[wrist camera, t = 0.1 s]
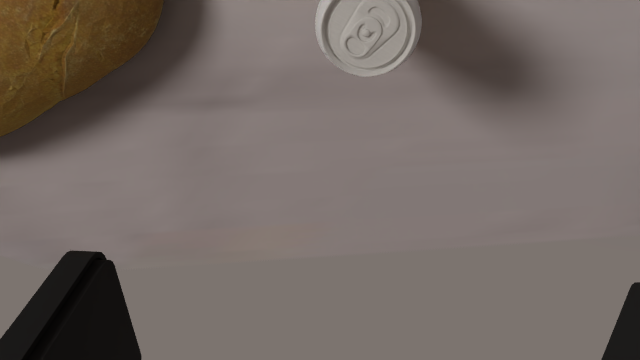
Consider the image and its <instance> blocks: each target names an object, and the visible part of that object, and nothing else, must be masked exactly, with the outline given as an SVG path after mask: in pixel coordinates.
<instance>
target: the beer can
mask: <svg viewBox="0 0 640 360" xmlns="http://www.w3.org/2000/svg"><path fill="white" fill-rule="evenodd" d="M421 28H422V16H421V10H420V6H419V3H418V0H320V2H319V5H318V9H317V12H316V18H315V31H316V37H317V40H318V43H319V45H320V48H321V50H322V51H323V53H324V54H325V56H326V57H327V58H328V59H329V60H330V62H332V63H333V64H334V65H335V66H336V67H338V68H339V69H341V70H343V71H345V72H347V73H350V74H352V75H356V76H361V77H373V76H379V75H382V74H385V73H387V72H390V71H392V70H393V69H395V68H397V67H398V66H400V65H401V64H402V63H403V62H404V61H406V59H407V58H408V57H409V56H410V55H411V53H412V52H413V51H414V49H415V47H416V45H417V43H418V40H419V37H420V34H421Z"/></svg>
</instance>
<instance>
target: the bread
mask: <svg viewBox="0 0 640 360" xmlns="http://www.w3.org/2000/svg"><path fill="white" fill-rule="evenodd" d="M163 2H164V0H0V137H1V136H3V135H6V134H8V133H10V132H12V131H14V130H16V129H18V128H20V127H22V126H24V125H26V124H27V123H29V122H31V121H32V120H34V119H35V118H37V117H38V116H39V115H41V114H42V113H44V112H45V111H47V110H49V109H51V108H52V107H53V106H54V105H56V104H57V103H58V102H59V101H62V100H65V99H67V98H68V97H70V96H73V95H75V94H77V93H79V92H81V91H83V90H85V89H87V88H88V87H90V86H91V85H92V84H94V83H95V82H97V81H98V80H100V79H101V78H103V77H104V76H106V75H107V74H108V73H110V72H111V71H113V70H115V69H117V68H118V67H120V66H121V65H123V64H124V63H126V62H127V61H128V60H130V59H131V58H132V57H133V56H135V55H136V54H137V53H138V52H139V51H140V50H141V49H142V48H143V46H144V45H145V44H146V43H147V42H148V40H149V39H150V37H151V35H152V34H153V32H154V31H155V28H156V26H157V23H158V21H159V18H160V15H161V12H162V7H163Z"/></svg>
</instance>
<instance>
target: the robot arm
mask: <svg viewBox="0 0 640 360" xmlns="http://www.w3.org/2000/svg"><path fill="white" fill-rule="evenodd" d="M0 360H141V353H140V349H139V346H138V343H137V339H136V336H135V332H134V329H133V326H132V322H131V319H130V316H129V313H128V309H127V306H126V302H125V299H124V296H123V292H122V289H121V285H120V282H119V279H118V276H117V272H116V269H115V265H114V263H113V262H112V261H111V260H106V257H105V255H104V254H103V253H102V252H90V251H69V252H67V253H66V254H65V255H64V256H63V257H62V258H61V260H60V261H59V262H58V264H57V265H56V266H55V268H54V269H53V270H52V272H51V273H50V275H49V276H48V277H47V278H46V280H45V281H44V282H43V284H42V285H41V286H40V288H39V289H38V291H37V292H36V293H35V294H34V296H33V297H32V298H31V300H30V301H29V302H28V304H27V305H26V306H25V308H24V309H23V310H22V312H21V313H20V314H19V316H18V317H17V318H16V320H15V321H14V322H13V324H12V325H11V326H10V328H9V329H8V330H7V331H6V332H5V334H4V335H3V336H2V338H1V339H0ZM602 360H640V283H634V284H632V286H631V288H630V290H629V292H628V295H627V298H626V300H625V302H624V305H623V308H622V310H621V313H620V315H619V318H618V320H617V322H616V325H615V328H614V330H613V332H612V335H611V337H610V340H609V343H608V345H607V347H606V350H605V352H604V355H603V357H602Z"/></svg>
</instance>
